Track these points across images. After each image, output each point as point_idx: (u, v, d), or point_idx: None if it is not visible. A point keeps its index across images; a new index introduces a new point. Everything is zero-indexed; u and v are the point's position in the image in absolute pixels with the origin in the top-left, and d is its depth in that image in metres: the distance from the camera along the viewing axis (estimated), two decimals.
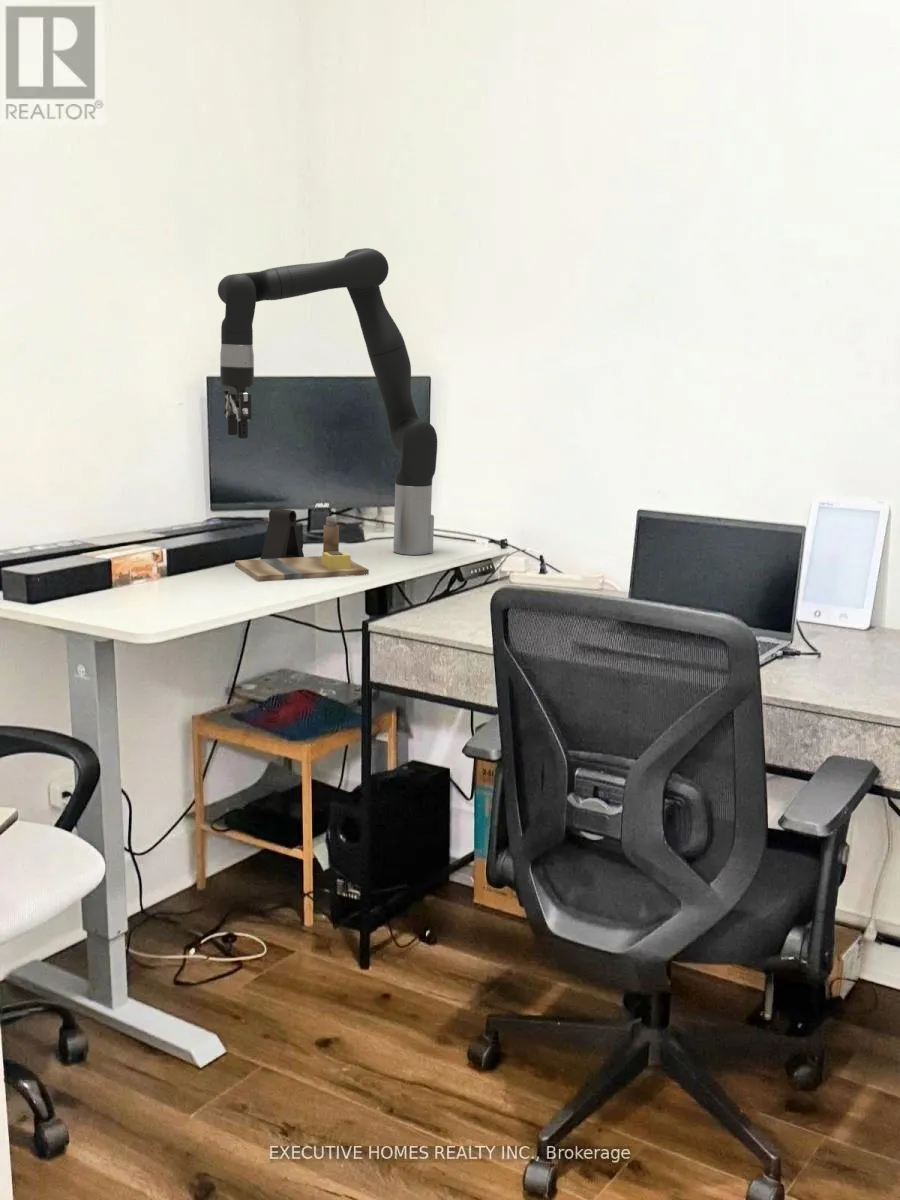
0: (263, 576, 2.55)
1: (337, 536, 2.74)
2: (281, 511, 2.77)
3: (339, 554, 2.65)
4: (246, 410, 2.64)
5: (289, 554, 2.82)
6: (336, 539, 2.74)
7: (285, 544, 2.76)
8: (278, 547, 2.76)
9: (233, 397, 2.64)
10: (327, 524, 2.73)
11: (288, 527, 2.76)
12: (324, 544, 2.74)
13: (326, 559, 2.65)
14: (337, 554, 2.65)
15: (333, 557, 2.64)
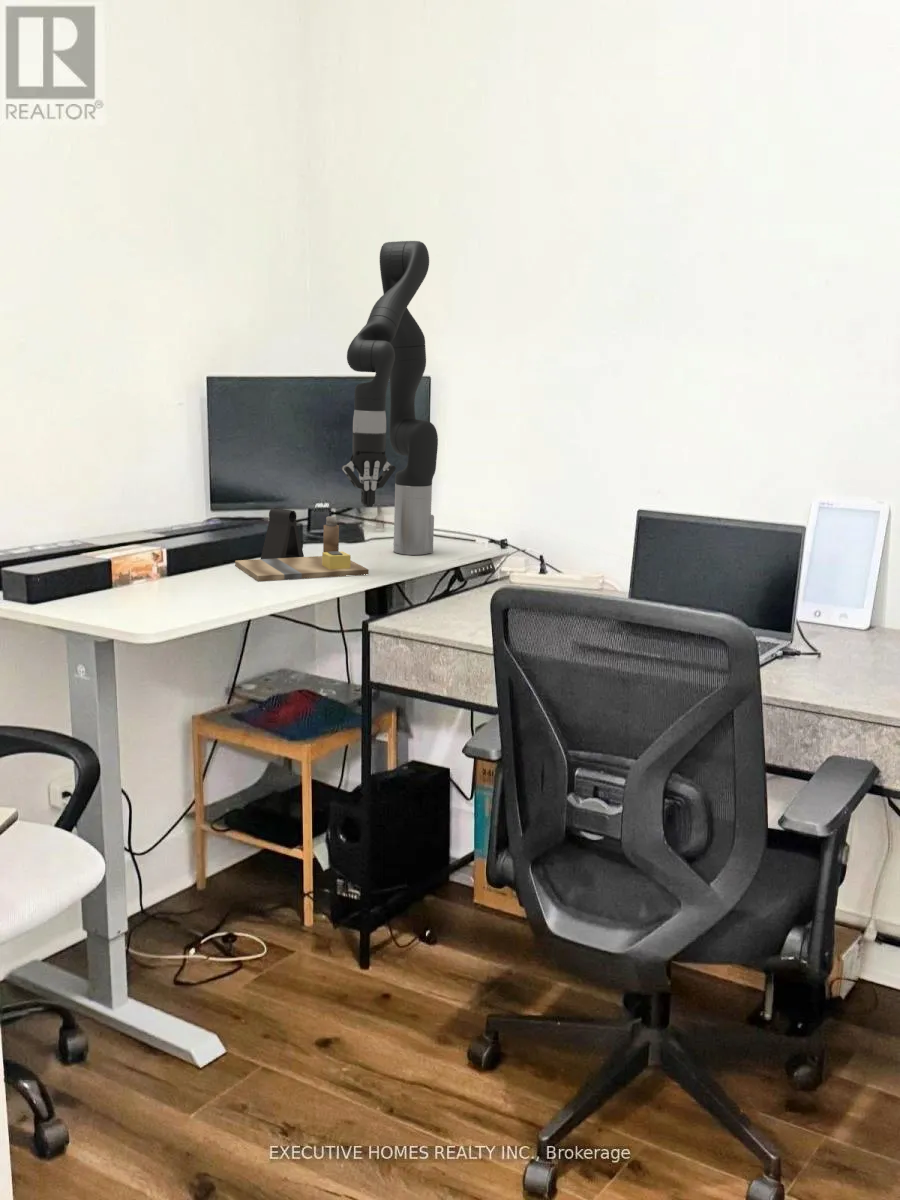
0: (263, 576, 2.55)
1: (337, 536, 2.74)
2: (281, 511, 2.77)
3: (339, 554, 2.65)
4: None
5: (289, 554, 2.82)
6: (336, 539, 2.74)
7: (285, 544, 2.76)
8: (278, 547, 2.76)
9: None
10: (327, 524, 2.73)
11: (288, 527, 2.76)
12: (324, 544, 2.74)
13: (326, 559, 2.65)
14: (337, 554, 2.65)
15: (333, 557, 2.64)
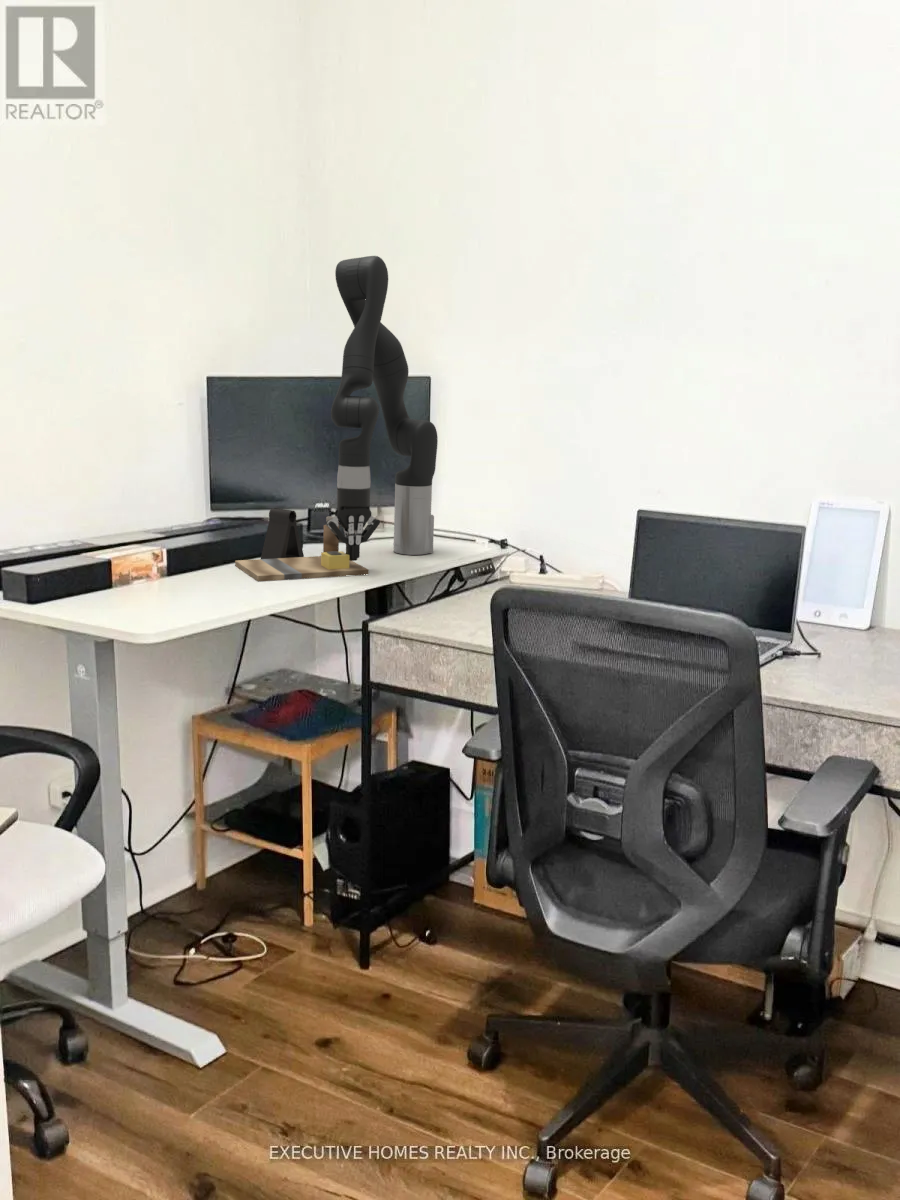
0: (263, 576, 2.55)
1: None
2: (281, 511, 2.77)
3: (338, 554, 2.65)
4: None
5: (289, 554, 2.82)
6: (336, 539, 2.74)
7: (285, 544, 2.76)
8: (278, 547, 2.76)
9: None
10: None
11: (288, 527, 2.76)
12: (324, 544, 2.74)
13: (325, 559, 2.65)
14: (336, 554, 2.65)
15: (332, 557, 2.64)
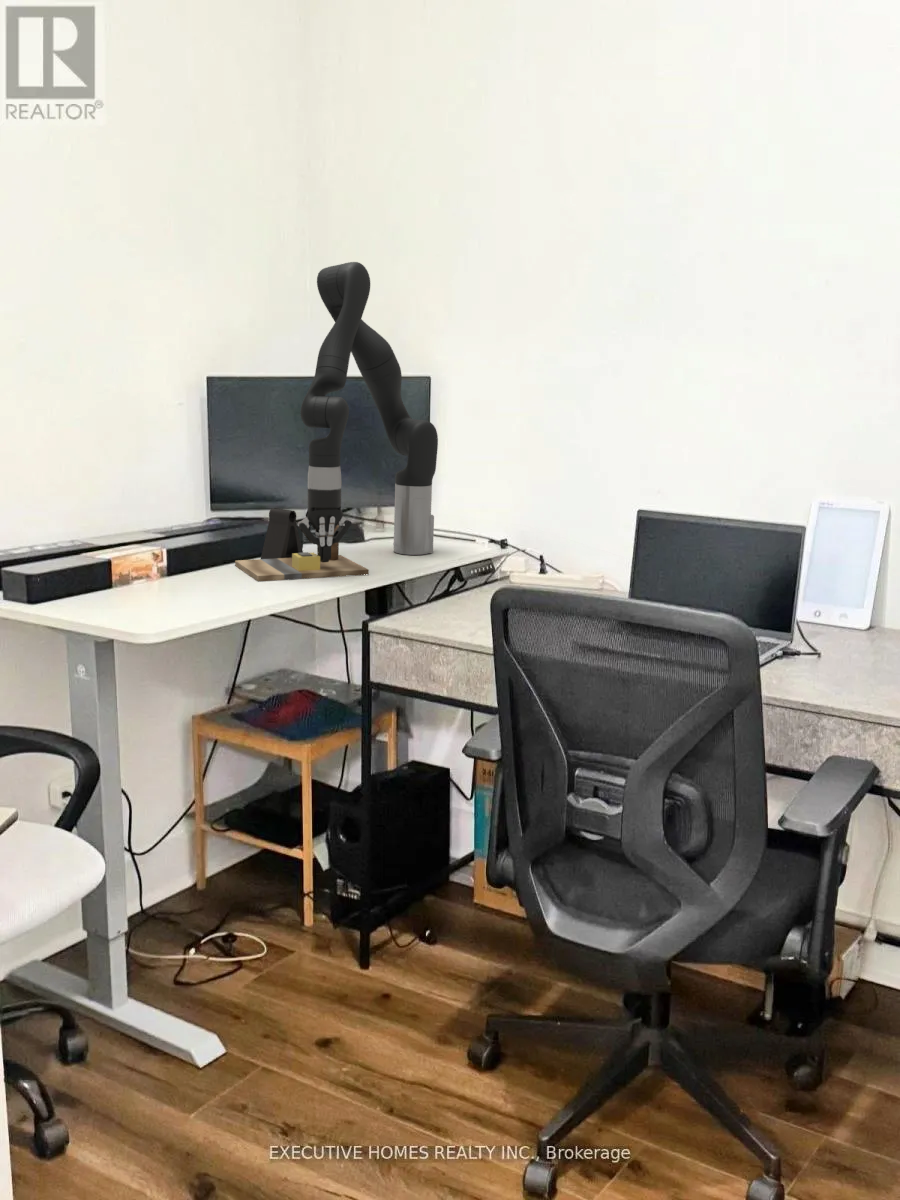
0: (263, 576, 2.55)
1: None
2: (281, 511, 2.77)
3: (309, 555, 2.63)
4: None
5: (289, 554, 2.82)
6: None
7: (285, 544, 2.76)
8: (278, 547, 2.76)
9: None
10: None
11: (288, 527, 2.76)
12: None
13: (296, 560, 2.63)
14: (306, 555, 2.62)
15: (302, 558, 2.61)
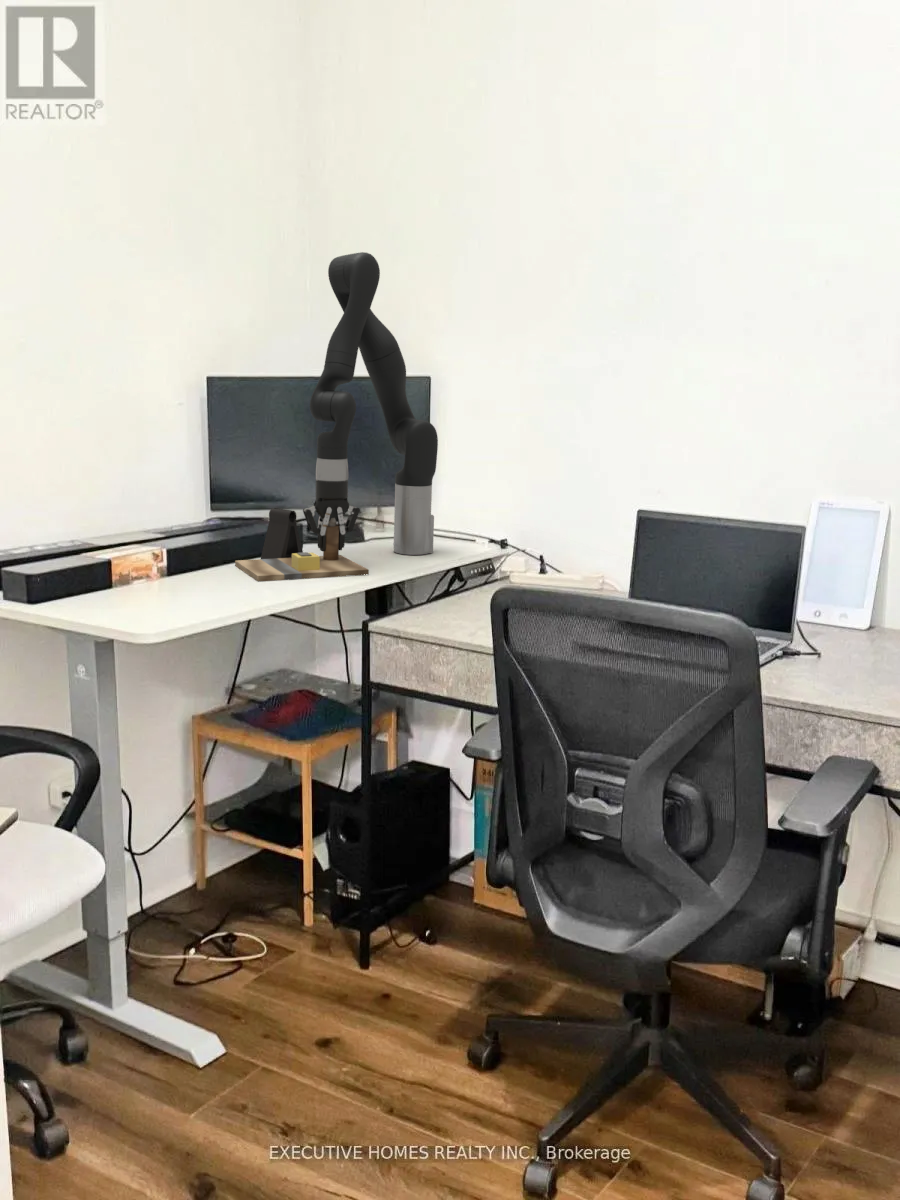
0: (263, 576, 2.55)
1: (337, 536, 2.74)
2: (281, 511, 2.77)
3: (308, 555, 2.63)
4: None
5: (289, 554, 2.82)
6: (336, 539, 2.74)
7: (285, 544, 2.76)
8: (278, 547, 2.76)
9: None
10: None
11: (288, 527, 2.76)
12: None
13: (295, 560, 2.63)
14: (306, 555, 2.62)
15: (302, 558, 2.61)
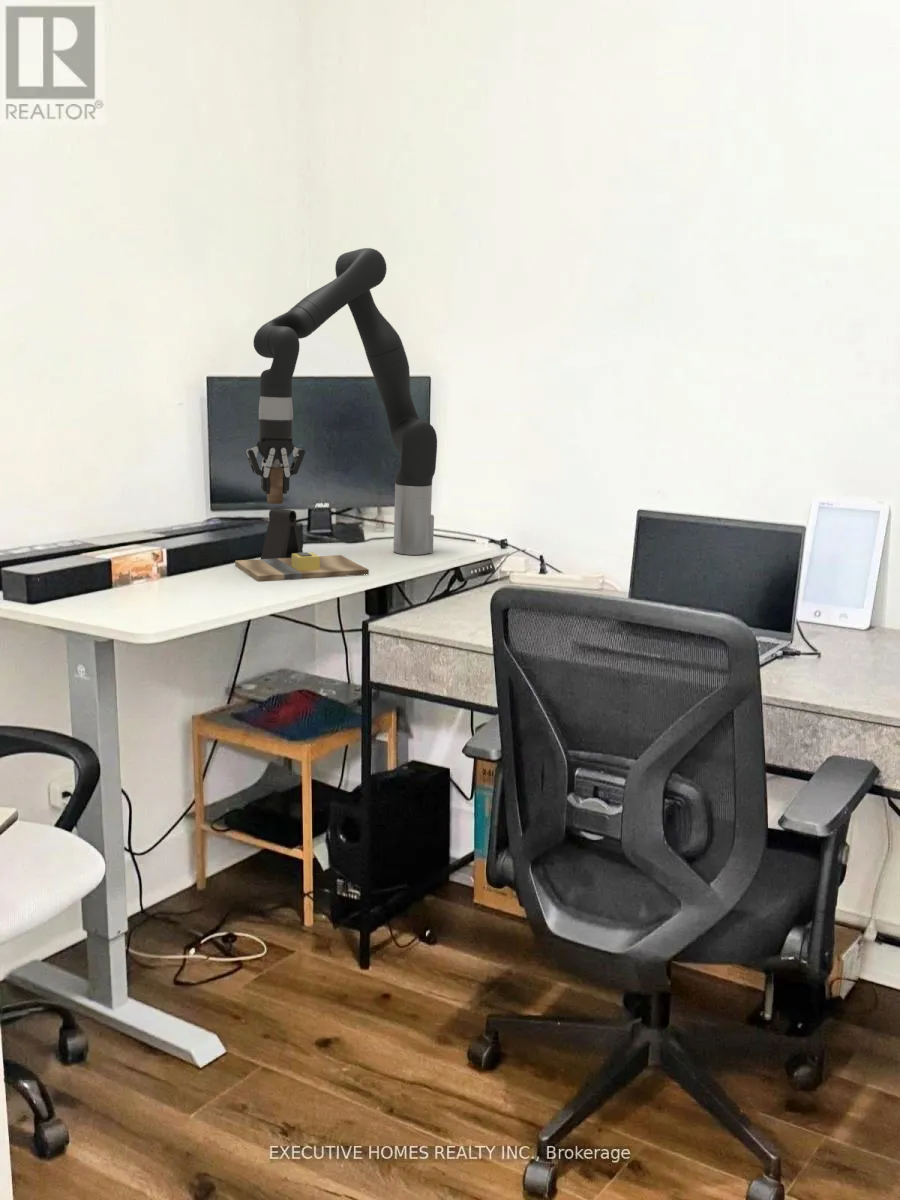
0: (263, 576, 2.55)
1: (281, 478, 2.64)
2: (281, 511, 2.77)
3: (308, 555, 2.63)
4: None
5: (289, 554, 2.82)
6: (280, 481, 2.64)
7: (285, 544, 2.76)
8: (278, 547, 2.76)
9: None
10: (271, 466, 2.63)
11: (288, 527, 2.76)
12: None
13: (295, 560, 2.63)
14: (306, 555, 2.62)
15: (302, 558, 2.61)
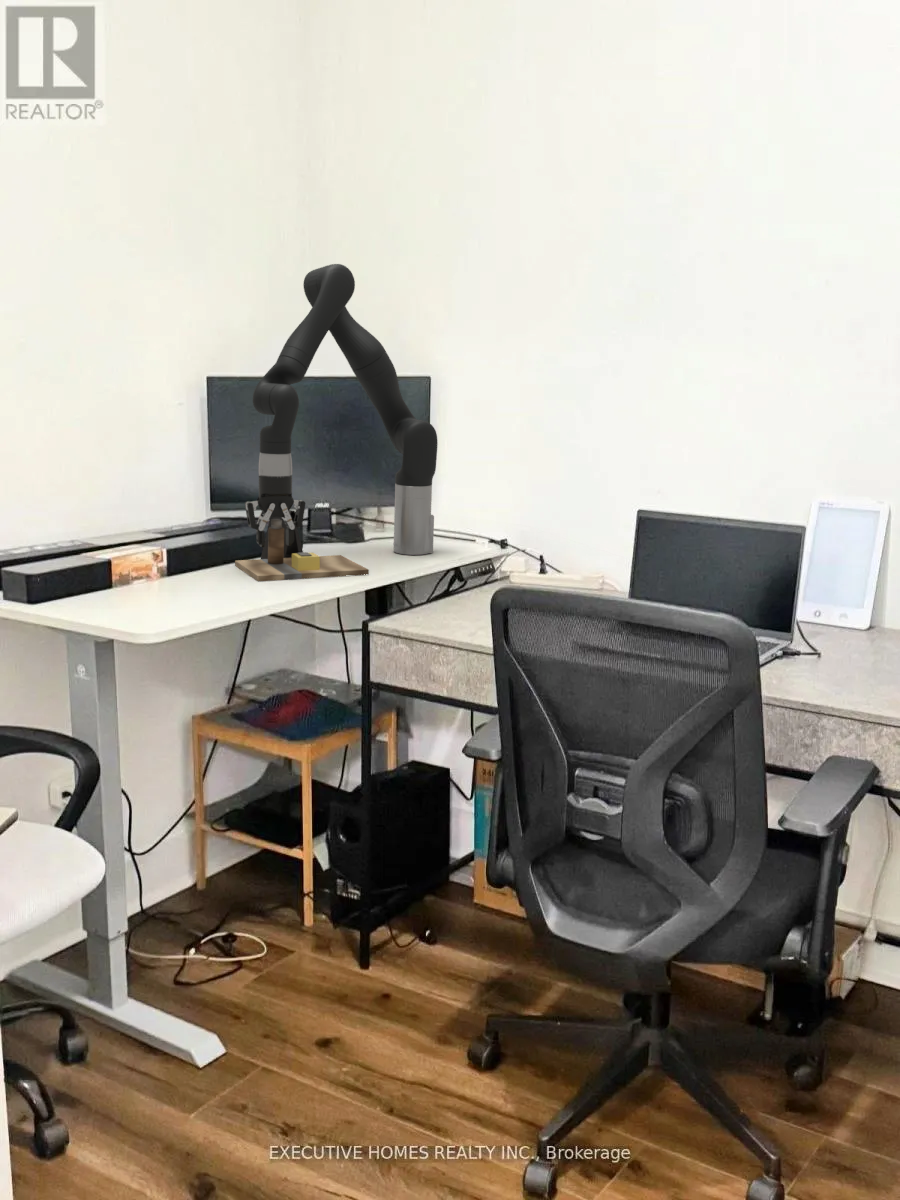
0: (263, 576, 2.55)
1: (282, 539, 2.67)
2: None
3: (308, 555, 2.63)
4: None
5: (289, 554, 2.82)
6: (281, 542, 2.67)
7: (285, 544, 2.76)
8: None
9: None
10: (272, 527, 2.67)
11: None
12: (269, 547, 2.67)
13: (295, 560, 2.63)
14: (306, 555, 2.62)
15: (302, 558, 2.61)
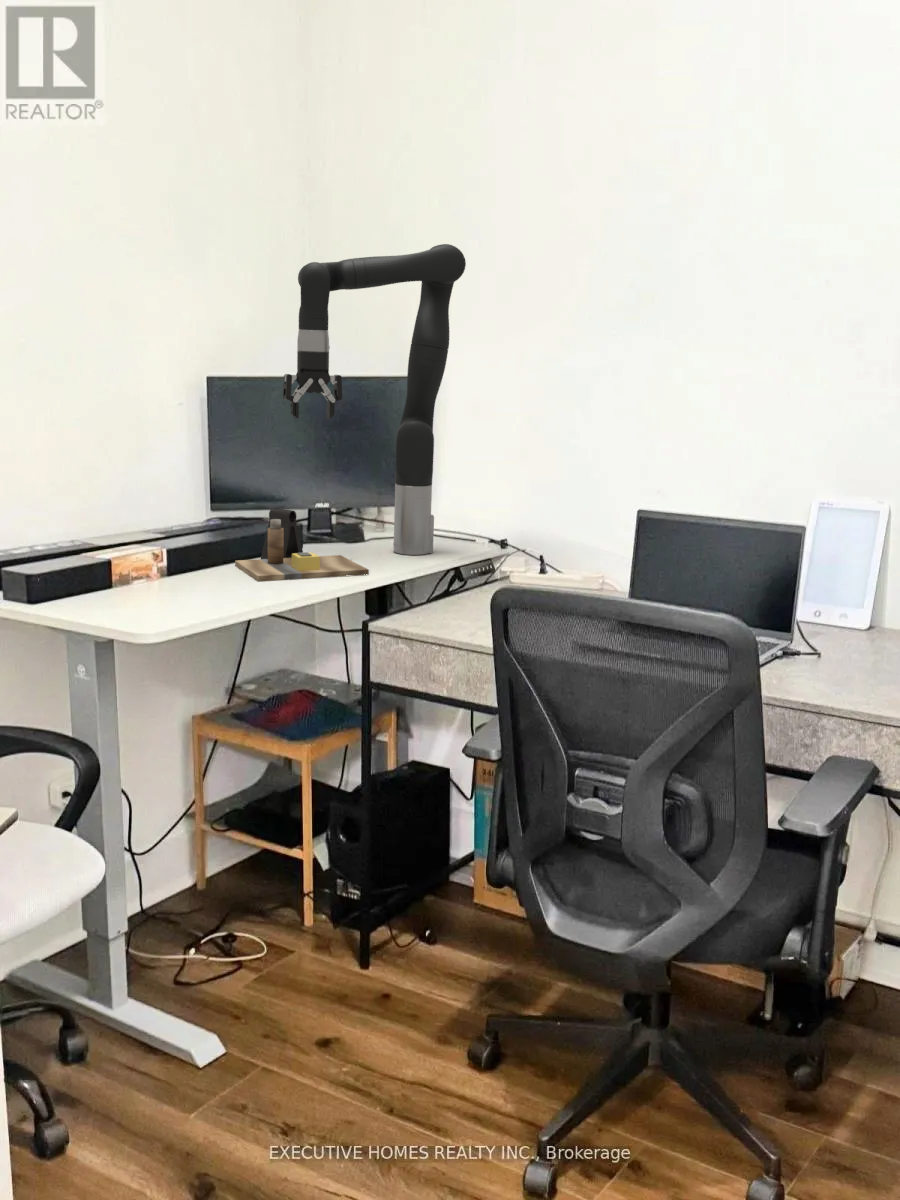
0: (263, 576, 2.55)
1: (282, 539, 2.67)
2: (281, 511, 2.77)
3: (308, 555, 2.63)
4: None
5: (289, 554, 2.82)
6: (280, 542, 2.67)
7: (285, 544, 2.76)
8: None
9: None
10: (271, 527, 2.67)
11: (288, 527, 2.76)
12: (268, 547, 2.67)
13: (295, 560, 2.63)
14: (306, 555, 2.62)
15: (302, 558, 2.61)
